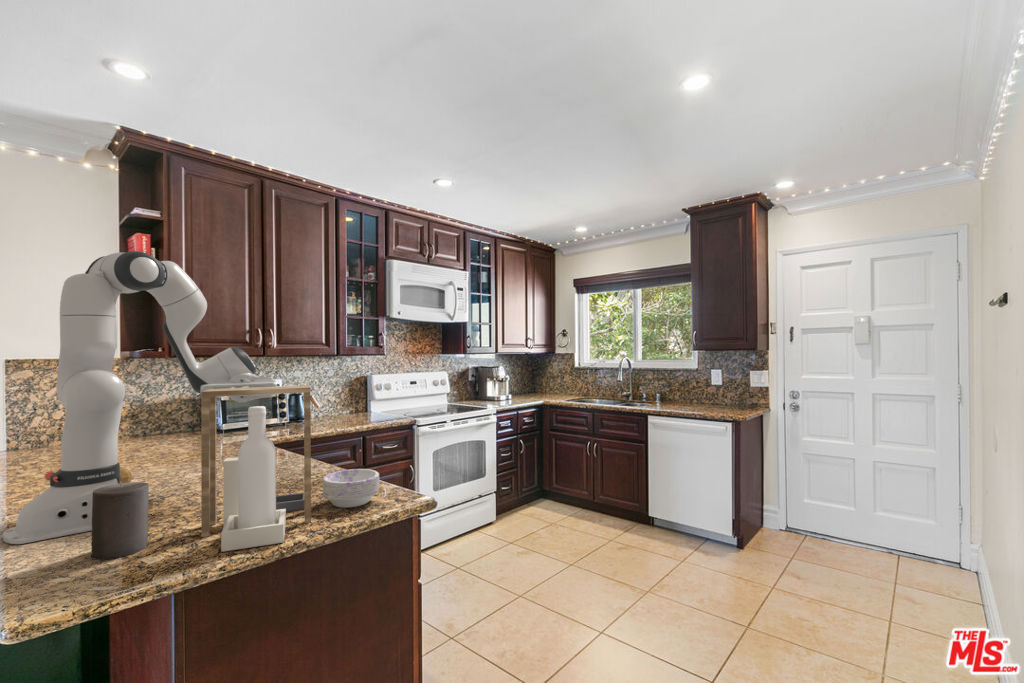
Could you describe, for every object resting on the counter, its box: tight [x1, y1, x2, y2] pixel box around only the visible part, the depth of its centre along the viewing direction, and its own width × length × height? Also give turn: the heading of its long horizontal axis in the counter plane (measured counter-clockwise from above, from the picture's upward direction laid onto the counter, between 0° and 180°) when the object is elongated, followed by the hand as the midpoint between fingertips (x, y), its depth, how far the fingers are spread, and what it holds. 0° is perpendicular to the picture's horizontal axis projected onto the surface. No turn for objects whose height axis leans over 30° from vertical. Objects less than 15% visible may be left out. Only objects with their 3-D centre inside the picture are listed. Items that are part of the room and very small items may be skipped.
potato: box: [119, 466, 133, 484], centre depth 153 cm, size 10×14×8 cm
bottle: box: [237, 405, 277, 529], centre depth 112 cm, size 8×8×30 cm
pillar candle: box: [90, 481, 150, 561], centre depth 105 cm, size 10×10×15 cm
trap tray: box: [276, 492, 305, 512], centre depth 132 cm, size 8×14×2 cm, turn 113°
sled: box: [220, 456, 287, 553], centre depth 115 cm, size 22×14×16 cm, turn 23°
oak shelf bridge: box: [200, 384, 312, 538], centre depth 121 cm, size 10×24×34 cm, turn 113°
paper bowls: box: [322, 468, 380, 509], centre depth 136 cm, size 15×15×8 cm
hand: (237, 390), depth 139 cm, fingers closed
